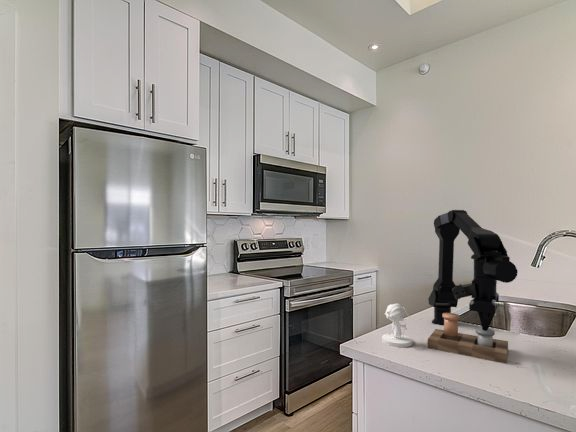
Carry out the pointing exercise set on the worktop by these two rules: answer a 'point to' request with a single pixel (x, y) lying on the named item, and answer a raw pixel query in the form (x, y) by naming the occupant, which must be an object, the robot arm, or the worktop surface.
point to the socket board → (468, 346)
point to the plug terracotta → (451, 324)
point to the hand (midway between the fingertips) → (484, 330)
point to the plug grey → (485, 337)
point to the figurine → (396, 327)
